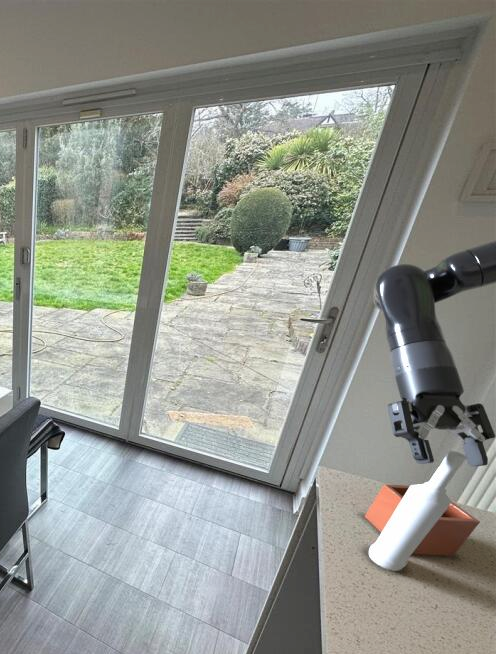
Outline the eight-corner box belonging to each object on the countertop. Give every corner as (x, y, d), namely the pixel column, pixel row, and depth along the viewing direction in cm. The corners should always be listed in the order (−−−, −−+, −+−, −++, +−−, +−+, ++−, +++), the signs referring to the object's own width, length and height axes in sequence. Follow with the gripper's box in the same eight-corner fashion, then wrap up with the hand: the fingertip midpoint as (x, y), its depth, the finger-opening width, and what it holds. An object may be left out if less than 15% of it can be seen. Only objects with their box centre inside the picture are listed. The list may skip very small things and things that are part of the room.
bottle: (390, 574, 75) (467, 467, 63) (360, 552, 79) (427, 447, 68) (409, 568, 76) (488, 461, 65) (379, 546, 81) (448, 443, 69)
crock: (409, 518, 88) (431, 486, 84) (453, 555, 79) (480, 521, 75) (364, 516, 88) (384, 484, 84) (403, 553, 79) (427, 519, 75)
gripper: (404, 362, 68) (431, 459, 63) (490, 366, 68) (525, 463, 63) (364, 377, 76) (386, 465, 71) (442, 380, 75) (470, 469, 70)
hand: (452, 464), depth 67 cm, fingers open, 8 cm apart
